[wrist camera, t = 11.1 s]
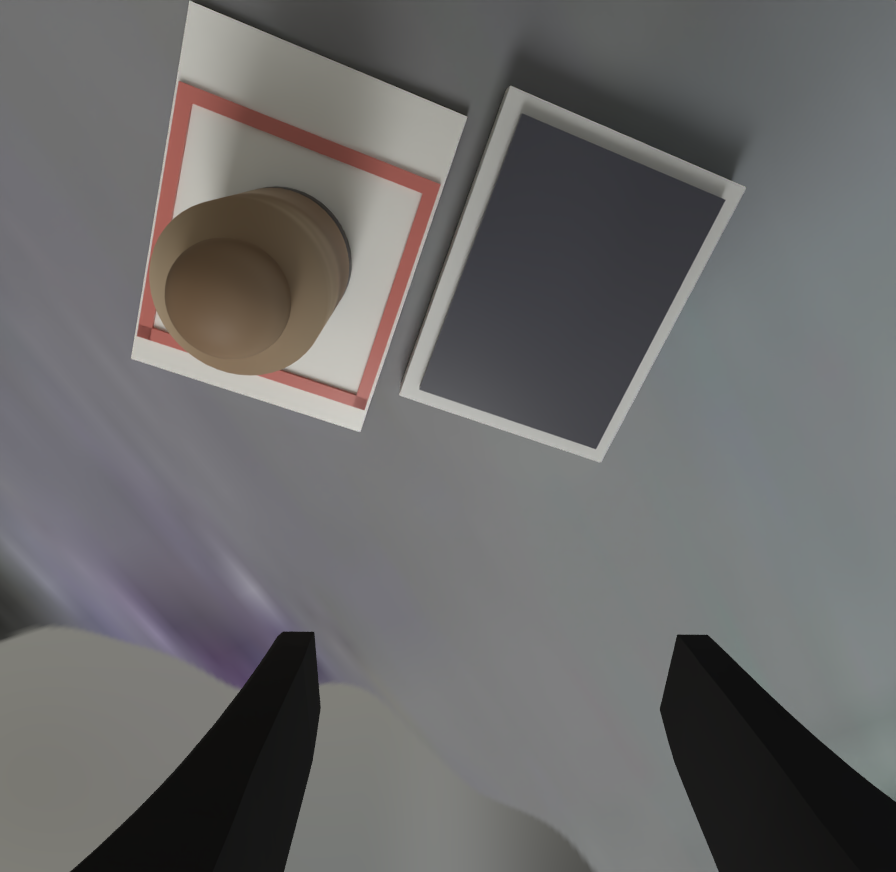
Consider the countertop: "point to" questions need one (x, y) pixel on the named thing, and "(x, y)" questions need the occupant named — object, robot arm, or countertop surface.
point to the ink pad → (564, 277)
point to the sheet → (311, 171)
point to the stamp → (250, 278)
